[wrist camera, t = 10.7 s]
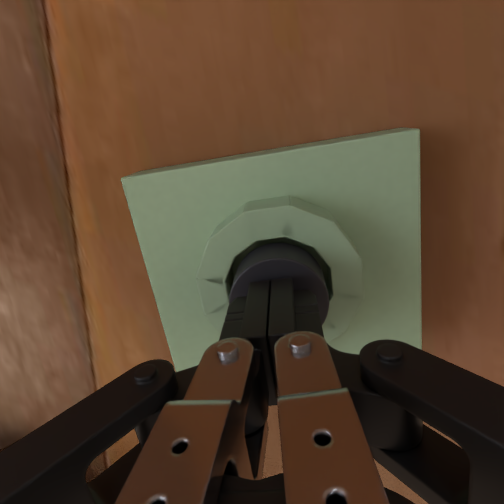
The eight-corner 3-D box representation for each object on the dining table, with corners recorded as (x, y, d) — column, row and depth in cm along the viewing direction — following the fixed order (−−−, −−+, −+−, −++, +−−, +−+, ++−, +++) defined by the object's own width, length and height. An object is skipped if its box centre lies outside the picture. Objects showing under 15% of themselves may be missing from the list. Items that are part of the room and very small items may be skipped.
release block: (402, 127, 15) (441, 129, 12) (407, 326, 19) (438, 379, 15) (139, 170, 17) (98, 185, 13) (186, 348, 20) (165, 399, 16)
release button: (319, 235, 14) (324, 252, 12) (328, 318, 15) (334, 343, 13) (227, 248, 14) (220, 265, 12) (243, 326, 15) (238, 351, 14)
